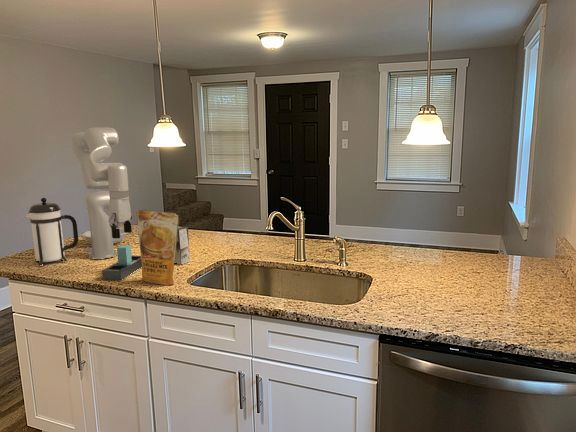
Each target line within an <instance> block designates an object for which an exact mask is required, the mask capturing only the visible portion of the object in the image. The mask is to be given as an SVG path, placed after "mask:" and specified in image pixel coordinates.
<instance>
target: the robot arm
mask: <svg viewBox="0 0 576 432" xmlns="http://www.w3.org/2000/svg"><path fill="white" fill-rule="evenodd" d="M119 140H120V138H119V134H118V131H117V130H116V129H115V128H113V127H109V126H108V127H90V128H87V129H86V130H85V131H80V132H76V133H73V134H72V135H71V139H70V143H71V148H72V152H73V154H74V155H75V157H76V159H77V160H78V163H79V166H80V169H81V174H82V178H83V181H84V185H85V188H86V189H88V190H91V191H90V192H88V193H87V194H86V195H85V197H84V202H85V206H86V211H87V214H88V222H89V231H90V233H91V247H86V248H85V250H84V252H85V253H90V254H89V256H88V258H89V257H90V258H95V259H101V258H109V257H113V256H115V255H117V250H114V249H115V248H114V244H113V238H120V229H118V228H120V224H123V228H124V232H125V233H127V234H131V233H132V232H133V230H132V219H133V211H131V203H130V193H129V191H130V190H129V178H128V177H129V176H128V168H127V166H126V165H125V164H123V163H122V162H103V161H105V160H107V159H108V158H109V157H111V155H112V150H113V149H112V148H115V147H116V146H117V145H118V144H119V142H120V141H119ZM100 162H103V163H100ZM92 190H93V191H92ZM105 211H108V214H107V213H106V212H105ZM117 256H118V255H117ZM90 258H89V259H90ZM113 258H114V257H113ZM109 259H110V258H109Z"/></svg>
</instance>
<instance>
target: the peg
mask: <svg viewBox="0 0 576 432" xmlns="http://www.w3.org/2000/svg"><path fill="white" fill-rule="evenodd" d="M116 252H117V261H118V265H128V264H129V263H131V262H132V256H133V255H132V246H131V245H126V244H125V245H119V246H118V247H116Z"/></svg>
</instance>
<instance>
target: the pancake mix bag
mask: <svg viewBox="0 0 576 432" xmlns="http://www.w3.org/2000/svg"><path fill="white" fill-rule="evenodd" d="M179 216H180V215H178V214H177V213H176V212H169V211H159V210H146V209H145V210H143V209H142V210H138V211H136V217H137V220H136V221H137V228H138V245H139V252H140V256H141V261H142V268H141V279H142V280H143V282H144V281H145V283H148V282H150V283H149V284H154V283H156V284H155V285H159V284H161V285H160V286H171V285H175V281H174V278H173V277H174V272H175V271H174V270H175V264H174V261H175V251H176V243H177V232H178V226H179V224H180V217H179Z"/></svg>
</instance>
